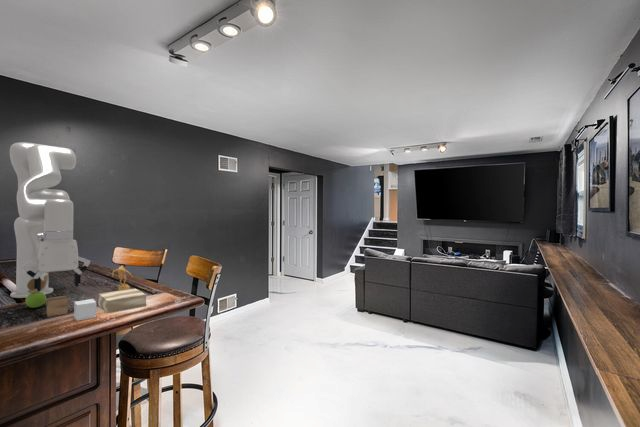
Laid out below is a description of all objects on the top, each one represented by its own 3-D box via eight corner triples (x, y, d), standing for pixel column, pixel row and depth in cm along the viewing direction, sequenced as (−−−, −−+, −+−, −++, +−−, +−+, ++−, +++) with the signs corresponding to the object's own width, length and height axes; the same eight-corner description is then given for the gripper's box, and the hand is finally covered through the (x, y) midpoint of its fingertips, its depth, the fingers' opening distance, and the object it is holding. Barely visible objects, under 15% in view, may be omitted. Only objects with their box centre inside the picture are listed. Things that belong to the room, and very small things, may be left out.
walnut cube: (46, 313, 105) (46, 298, 104) (65, 310, 108) (65, 295, 108) (47, 317, 101) (48, 301, 101) (67, 313, 105) (67, 298, 105)
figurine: (136, 292, 132) (137, 264, 132) (128, 296, 126) (129, 266, 126) (116, 292, 132) (117, 263, 132) (107, 296, 126) (108, 266, 125)
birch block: (98, 306, 114) (98, 293, 114) (134, 299, 123) (135, 288, 123) (107, 314, 106) (107, 300, 106) (146, 306, 115) (146, 294, 115)
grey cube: (73, 317, 102) (74, 301, 102) (92, 313, 105) (93, 298, 105) (76, 321, 98) (77, 305, 98) (96, 317, 102) (96, 302, 102)
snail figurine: (53, 305, 112) (53, 272, 112) (31, 310, 106) (32, 275, 106) (43, 303, 114) (43, 270, 114) (21, 308, 108) (22, 273, 108)
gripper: (23, 238, 95) (22, 294, 95) (92, 235, 108) (92, 285, 108) (22, 237, 101) (21, 290, 100) (88, 234, 113) (87, 282, 113)
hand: (58, 288), depth 104 cm, fingers open, 9 cm apart
